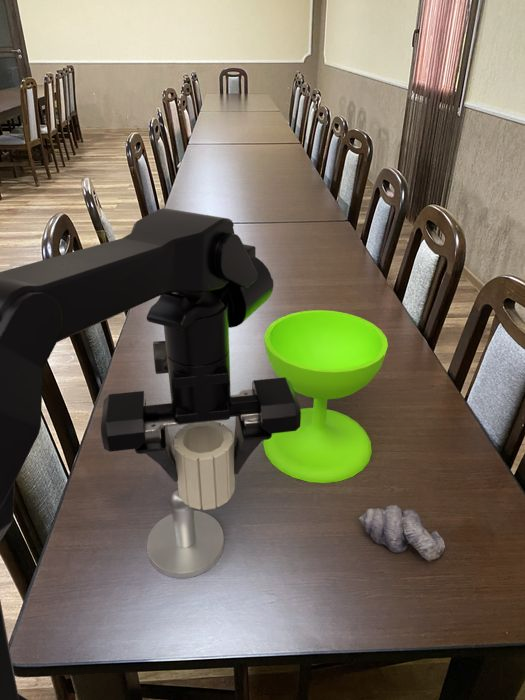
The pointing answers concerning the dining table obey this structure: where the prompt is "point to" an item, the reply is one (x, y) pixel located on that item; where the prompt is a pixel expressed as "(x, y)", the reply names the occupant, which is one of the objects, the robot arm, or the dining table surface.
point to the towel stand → (185, 541)
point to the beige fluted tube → (205, 464)
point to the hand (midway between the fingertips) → (206, 474)
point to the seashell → (401, 531)
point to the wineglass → (323, 391)
